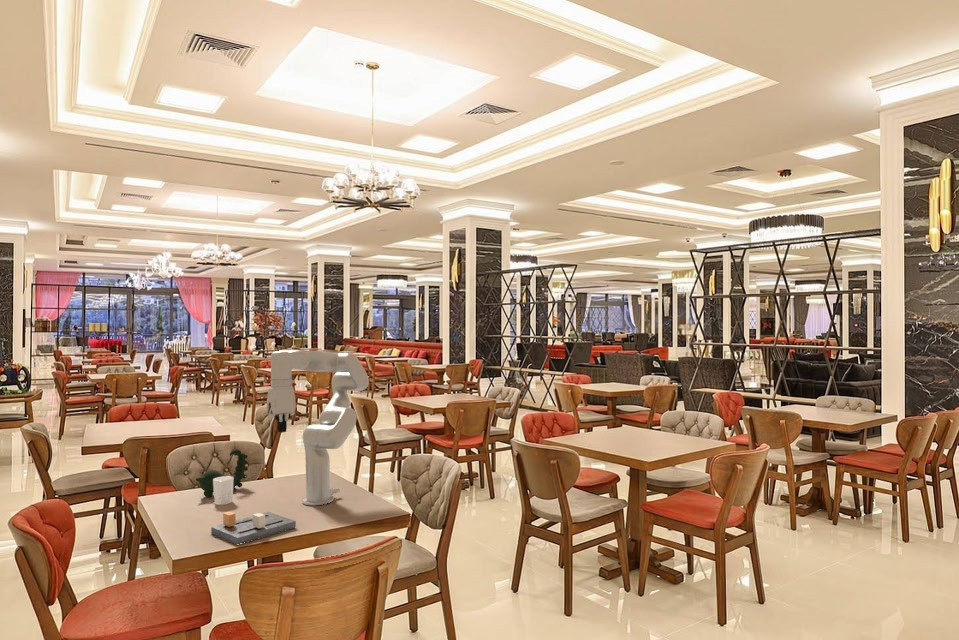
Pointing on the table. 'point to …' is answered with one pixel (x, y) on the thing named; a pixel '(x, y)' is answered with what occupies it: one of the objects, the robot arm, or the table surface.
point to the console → (252, 528)
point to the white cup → (223, 490)
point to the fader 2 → (258, 520)
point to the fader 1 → (229, 519)
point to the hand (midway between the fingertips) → (282, 431)
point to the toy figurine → (209, 475)
